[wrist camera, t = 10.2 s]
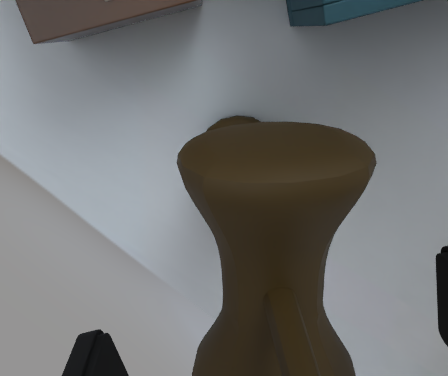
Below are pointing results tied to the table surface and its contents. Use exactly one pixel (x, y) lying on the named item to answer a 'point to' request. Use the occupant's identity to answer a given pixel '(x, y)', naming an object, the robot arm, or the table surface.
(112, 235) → the table surface
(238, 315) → the kendama
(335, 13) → the teal open box
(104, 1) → the block
